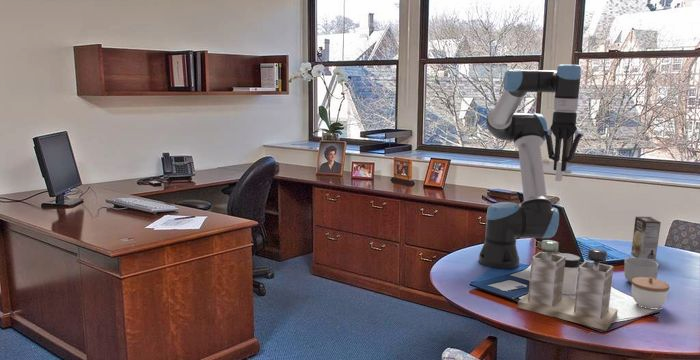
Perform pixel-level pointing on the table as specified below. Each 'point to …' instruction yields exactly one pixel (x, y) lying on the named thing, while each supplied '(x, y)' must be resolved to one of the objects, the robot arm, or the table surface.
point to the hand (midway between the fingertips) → (558, 180)
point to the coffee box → (645, 238)
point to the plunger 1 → (549, 248)
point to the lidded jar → (649, 291)
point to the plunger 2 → (597, 257)
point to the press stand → (583, 309)
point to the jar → (570, 273)
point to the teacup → (640, 268)
